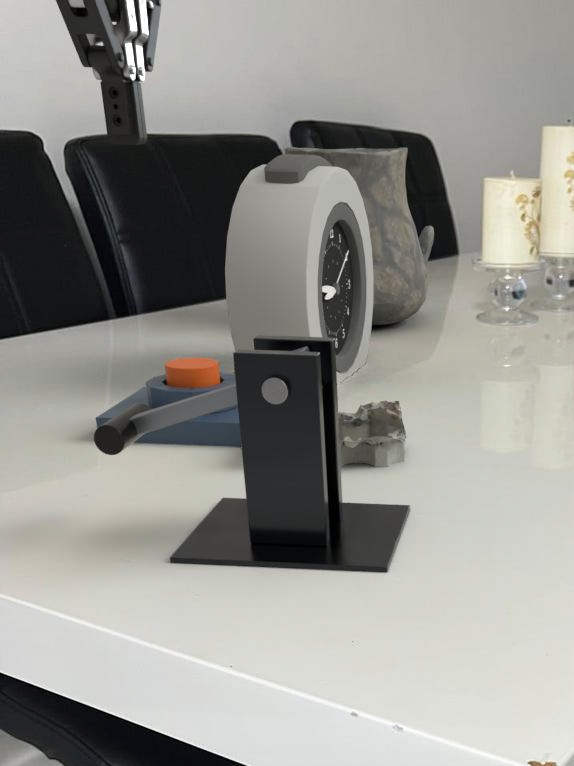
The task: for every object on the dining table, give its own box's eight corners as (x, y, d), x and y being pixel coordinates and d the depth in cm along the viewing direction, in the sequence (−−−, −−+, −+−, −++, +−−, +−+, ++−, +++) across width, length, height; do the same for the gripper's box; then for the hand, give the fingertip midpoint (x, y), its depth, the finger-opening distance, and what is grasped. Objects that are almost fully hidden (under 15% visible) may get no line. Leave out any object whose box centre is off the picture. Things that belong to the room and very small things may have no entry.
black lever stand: (171, 577, 55) (142, 360, 49) (224, 515, 64) (204, 324, 58) (387, 587, 54) (382, 368, 49) (410, 522, 63) (408, 331, 58)
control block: (100, 452, 75) (91, 393, 73) (148, 418, 84) (141, 364, 82) (258, 459, 74) (252, 399, 72) (289, 423, 83) (285, 369, 81)
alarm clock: (312, 403, 89) (298, 158, 80) (233, 397, 91) (211, 156, 81) (376, 356, 108) (370, 153, 99) (310, 352, 109) (299, 151, 100)
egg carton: (406, 452, 77) (406, 399, 75) (406, 482, 70) (406, 425, 68) (267, 450, 76) (263, 397, 74) (253, 481, 70) (249, 423, 68)
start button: (159, 390, 76) (156, 367, 75) (177, 379, 79) (174, 356, 78) (211, 392, 75) (209, 369, 75) (226, 380, 79) (224, 358, 78)
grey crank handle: (104, 465, 55) (84, 423, 54) (138, 439, 59) (120, 401, 58) (309, 403, 52) (292, 359, 51) (328, 382, 57) (313, 340, 56)
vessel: (261, 339, 115) (245, 146, 106) (271, 308, 134) (259, 143, 125) (448, 338, 118) (448, 150, 108) (432, 308, 137) (431, 146, 128)
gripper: (74, -151, 66) (112, 141, 74) (-30, -211, 54) (29, 144, 62) (185, -149, 66) (211, 144, 74) (105, -210, 54) (147, 147, 62)
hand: (128, 144), depth 68 cm, fingers closed
